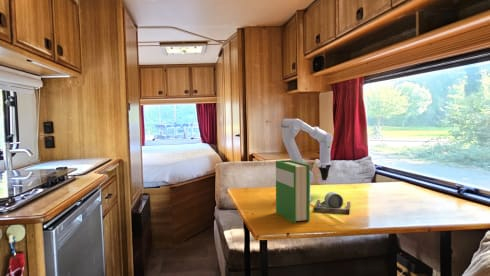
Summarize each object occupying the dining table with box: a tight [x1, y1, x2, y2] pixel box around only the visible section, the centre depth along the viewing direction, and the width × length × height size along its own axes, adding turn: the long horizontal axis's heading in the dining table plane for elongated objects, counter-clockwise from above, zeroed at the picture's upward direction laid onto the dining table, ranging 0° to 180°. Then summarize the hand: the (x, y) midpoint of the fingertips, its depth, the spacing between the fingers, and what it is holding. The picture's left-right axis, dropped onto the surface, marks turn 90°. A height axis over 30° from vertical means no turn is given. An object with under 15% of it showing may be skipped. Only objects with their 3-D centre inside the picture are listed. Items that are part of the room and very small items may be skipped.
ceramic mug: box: [319, 191, 344, 209], centre depth 174 cm, size 11×8×8 cm
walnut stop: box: [313, 199, 351, 215], centre depth 173 cm, size 16×15×2 cm
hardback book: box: [275, 159, 311, 224], centre depth 159 cm, size 18×7×24 cm, turn 20°
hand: (324, 178), depth 200 cm, fingers open, 7 cm apart
